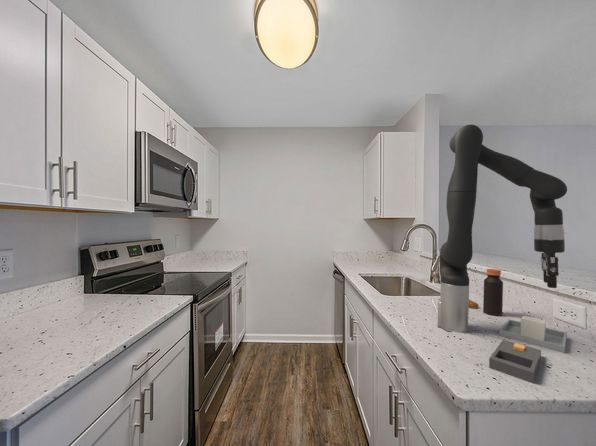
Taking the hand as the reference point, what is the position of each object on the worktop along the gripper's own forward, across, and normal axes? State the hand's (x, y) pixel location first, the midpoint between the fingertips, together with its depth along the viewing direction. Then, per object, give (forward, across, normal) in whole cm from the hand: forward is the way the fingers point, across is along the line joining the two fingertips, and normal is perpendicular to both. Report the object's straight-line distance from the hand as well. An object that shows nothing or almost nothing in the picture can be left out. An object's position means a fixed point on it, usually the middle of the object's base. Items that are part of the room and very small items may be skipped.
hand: (549, 285), depth 89 cm
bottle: (+19, -19, -16) cm, 32 cm away
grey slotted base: (+18, +27, -10) cm, 34 cm away
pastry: (+19, -26, -27) cm, 43 cm away
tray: (+19, +1, -5) cm, 20 cm away
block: (+18, +1, -5) cm, 19 cm away
